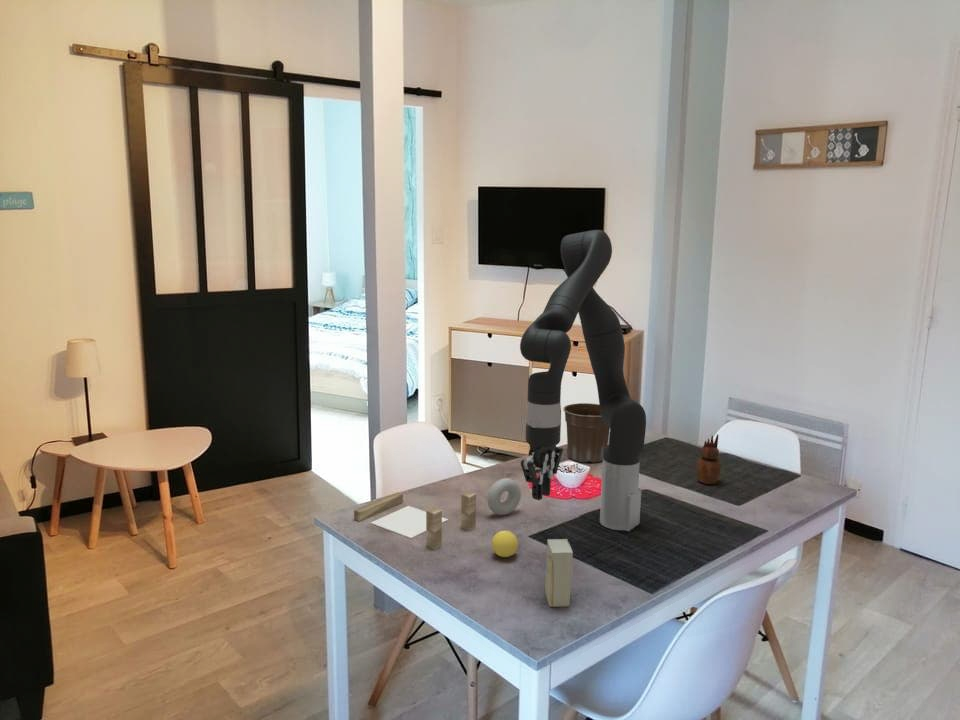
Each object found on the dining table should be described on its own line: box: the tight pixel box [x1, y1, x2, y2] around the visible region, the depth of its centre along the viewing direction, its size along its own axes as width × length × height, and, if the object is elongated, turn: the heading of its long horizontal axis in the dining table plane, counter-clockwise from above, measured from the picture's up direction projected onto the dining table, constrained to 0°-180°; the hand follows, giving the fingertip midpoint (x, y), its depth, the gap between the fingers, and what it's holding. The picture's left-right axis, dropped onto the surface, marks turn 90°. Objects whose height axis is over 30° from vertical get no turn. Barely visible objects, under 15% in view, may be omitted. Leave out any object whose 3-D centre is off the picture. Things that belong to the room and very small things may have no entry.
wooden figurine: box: [695, 434, 722, 485], centre depth 220 cm, size 7×6×15 cm
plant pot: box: [563, 402, 610, 464], centre depth 241 cm, size 16×16×16 cm
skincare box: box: [544, 538, 574, 608], centre depth 154 cm, size 6×4×12 cm
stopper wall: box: [353, 492, 404, 523], centre depth 198 cm, size 2×16×2 cm, turn 142°
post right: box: [460, 491, 477, 532], centre depth 188 cm, size 3×3×9 cm
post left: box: [425, 507, 443, 550], centre depth 178 cm, size 3×3×9 cm
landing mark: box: [370, 505, 449, 539], centre depth 192 cm, size 14×14×1 cm
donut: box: [486, 477, 522, 516], centre depth 196 cm, size 10×4×10 cm, turn 122°
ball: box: [491, 530, 519, 558], centre depth 173 cm, size 6×6×6 cm
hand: (541, 496), depth 165 cm, fingers open, 2 cm apart
